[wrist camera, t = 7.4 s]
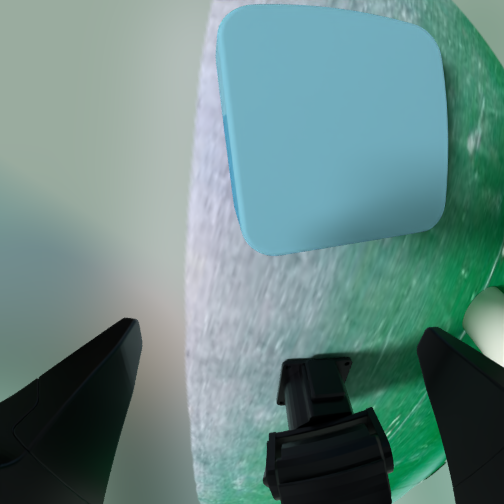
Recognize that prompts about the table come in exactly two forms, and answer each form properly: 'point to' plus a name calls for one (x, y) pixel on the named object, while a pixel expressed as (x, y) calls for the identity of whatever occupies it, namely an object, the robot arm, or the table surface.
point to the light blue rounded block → (331, 126)
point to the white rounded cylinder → (487, 323)
